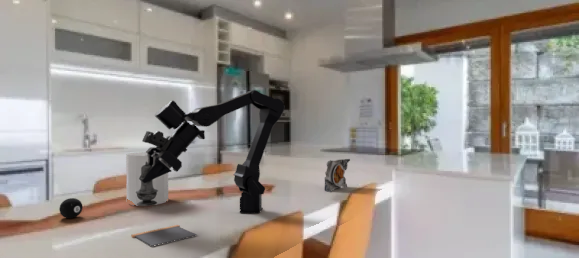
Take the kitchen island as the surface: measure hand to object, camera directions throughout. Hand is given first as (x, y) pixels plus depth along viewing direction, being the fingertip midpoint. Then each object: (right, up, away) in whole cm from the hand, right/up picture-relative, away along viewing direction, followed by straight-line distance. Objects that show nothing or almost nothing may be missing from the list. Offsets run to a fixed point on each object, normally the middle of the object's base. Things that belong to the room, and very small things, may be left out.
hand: (141, 181), depth 101 cm
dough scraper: (+9, -13, -7) cm, 18 cm away
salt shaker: (+1, -7, +1) cm, 7 cm away
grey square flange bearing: (+63, -12, +59) cm, 87 cm away
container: (-12, -13, +34) cm, 38 cm away
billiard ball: (-26, -13, +11) cm, 31 cm away
